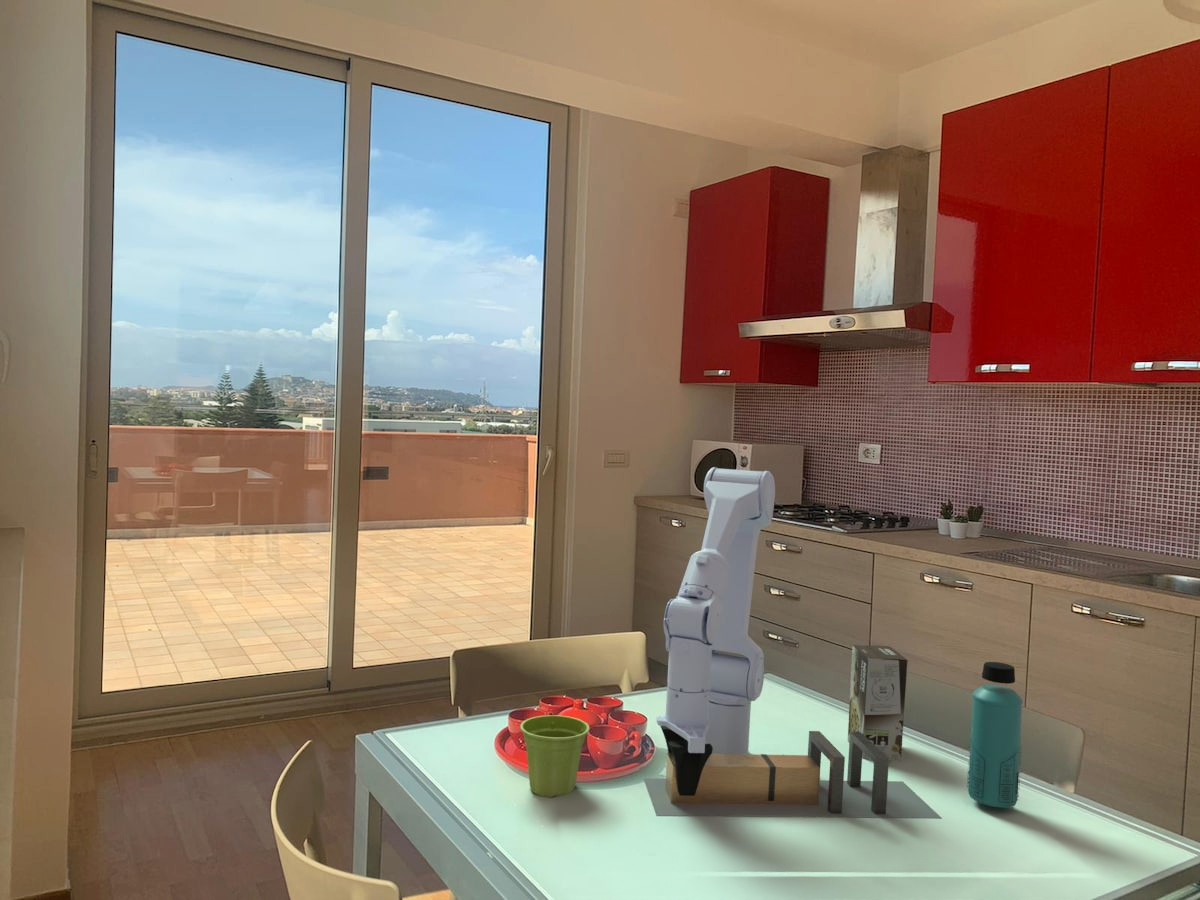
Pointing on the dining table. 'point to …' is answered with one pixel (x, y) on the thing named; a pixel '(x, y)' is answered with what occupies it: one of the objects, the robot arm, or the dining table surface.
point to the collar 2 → (879, 772)
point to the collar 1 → (836, 774)
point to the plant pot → (553, 752)
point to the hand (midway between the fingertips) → (683, 786)
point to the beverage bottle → (995, 739)
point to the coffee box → (878, 697)
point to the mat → (853, 805)
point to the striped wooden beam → (751, 780)
